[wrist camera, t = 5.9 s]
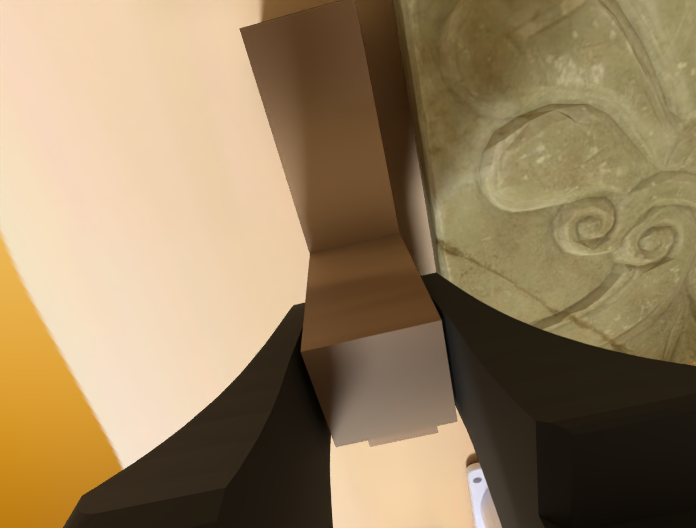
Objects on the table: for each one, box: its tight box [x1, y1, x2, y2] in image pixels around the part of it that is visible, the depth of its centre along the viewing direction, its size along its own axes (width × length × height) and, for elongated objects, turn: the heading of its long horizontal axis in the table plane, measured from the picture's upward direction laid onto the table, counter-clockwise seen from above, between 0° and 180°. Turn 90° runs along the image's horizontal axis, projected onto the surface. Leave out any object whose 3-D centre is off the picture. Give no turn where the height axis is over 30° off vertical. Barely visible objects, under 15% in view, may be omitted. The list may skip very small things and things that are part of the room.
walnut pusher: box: [240, 0, 457, 447], centre depth 12 cm, size 16×3×8 cm, turn 14°
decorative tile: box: [393, 0, 696, 364], centre depth 13 cm, size 19×20×4 cm
